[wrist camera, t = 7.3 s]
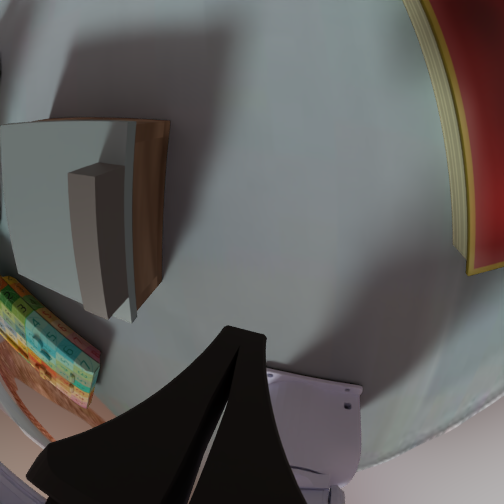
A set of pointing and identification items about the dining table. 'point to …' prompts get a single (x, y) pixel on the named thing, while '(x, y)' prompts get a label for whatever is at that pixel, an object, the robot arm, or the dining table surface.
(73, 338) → the puzzle game
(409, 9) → the hardcover book
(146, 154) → the box
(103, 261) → the lid
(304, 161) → the dining table surface
